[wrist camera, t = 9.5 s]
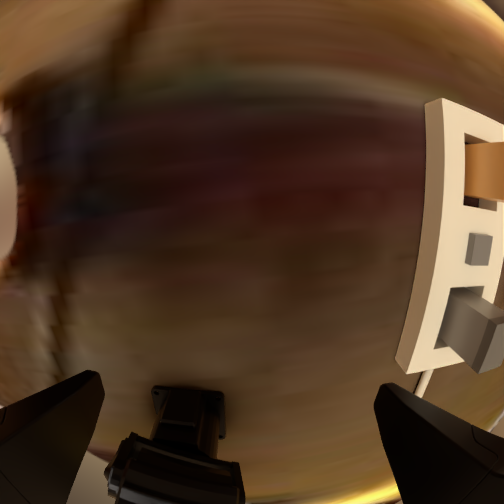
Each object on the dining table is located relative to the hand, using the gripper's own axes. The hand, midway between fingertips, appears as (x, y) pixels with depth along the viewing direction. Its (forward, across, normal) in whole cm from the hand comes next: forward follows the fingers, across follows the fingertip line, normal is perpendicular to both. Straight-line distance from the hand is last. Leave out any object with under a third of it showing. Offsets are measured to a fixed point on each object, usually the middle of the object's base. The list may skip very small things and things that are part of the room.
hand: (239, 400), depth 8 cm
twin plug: (+13, -18, +3) cm, 23 cm away
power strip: (+13, -18, +2) cm, 22 cm away
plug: (+13, -18, -9) cm, 24 cm away
